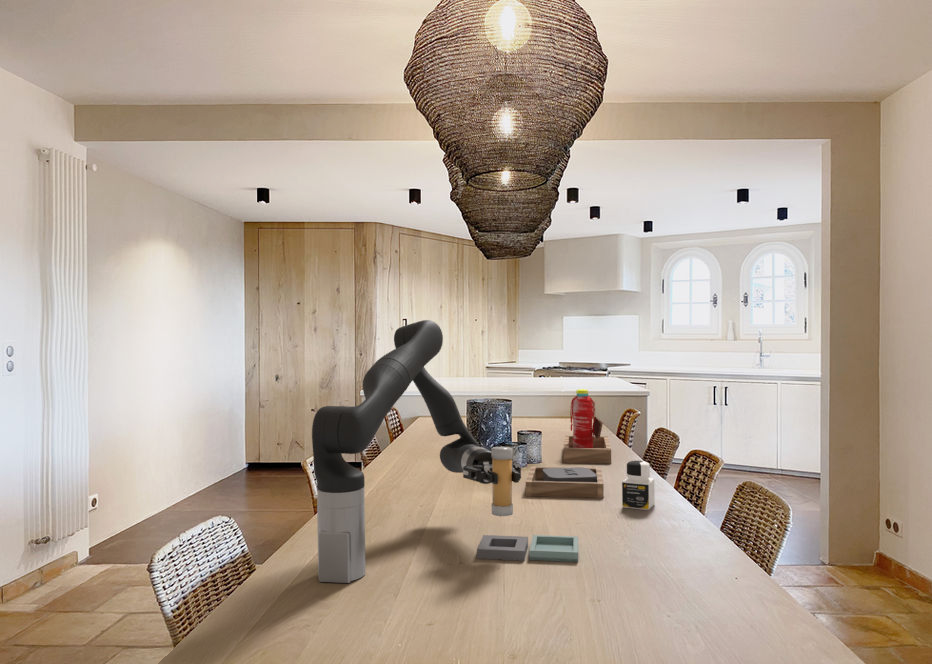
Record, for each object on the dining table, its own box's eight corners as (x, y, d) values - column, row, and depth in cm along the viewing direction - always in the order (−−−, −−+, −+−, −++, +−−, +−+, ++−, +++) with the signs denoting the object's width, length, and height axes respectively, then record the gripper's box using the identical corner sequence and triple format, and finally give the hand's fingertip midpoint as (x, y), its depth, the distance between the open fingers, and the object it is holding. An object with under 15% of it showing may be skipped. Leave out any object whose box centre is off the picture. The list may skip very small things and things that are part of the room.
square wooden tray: (603, 497, 196) (603, 483, 196) (526, 495, 199) (525, 481, 199) (601, 480, 217) (601, 468, 217) (531, 479, 221) (531, 466, 221)
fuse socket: (524, 560, 143) (524, 551, 143) (476, 558, 145) (476, 549, 145) (528, 545, 153) (528, 536, 153) (483, 543, 155) (483, 535, 155)
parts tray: (578, 562, 142) (578, 552, 142) (529, 560, 144) (529, 550, 144) (578, 545, 153) (578, 536, 153) (533, 543, 154) (533, 534, 154)
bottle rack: (611, 463, 245) (611, 449, 245) (563, 462, 248) (563, 448, 248) (607, 448, 275) (607, 436, 275) (565, 448, 277) (565, 435, 277)
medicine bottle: (622, 507, 185) (621, 462, 185) (628, 501, 191) (628, 458, 191) (648, 510, 181) (648, 465, 181) (654, 504, 188) (654, 460, 188)
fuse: (511, 516, 146) (511, 450, 146) (490, 515, 147) (490, 449, 147) (513, 511, 151) (513, 446, 151) (493, 510, 151) (492, 446, 151)
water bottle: (602, 453, 264) (602, 388, 264) (603, 457, 256) (602, 390, 256) (571, 453, 266) (570, 388, 266) (570, 456, 258) (569, 390, 258)
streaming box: (599, 494, 201) (599, 476, 201) (550, 496, 199) (550, 478, 199) (586, 483, 215) (586, 467, 215) (541, 484, 214) (540, 468, 214)
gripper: (451, 450, 160) (474, 462, 144) (509, 446, 165) (537, 458, 148) (451, 482, 160) (475, 498, 144) (509, 478, 165) (538, 493, 148)
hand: (506, 478), depth 146 cm, fingers closed on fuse, 4 cm apart
